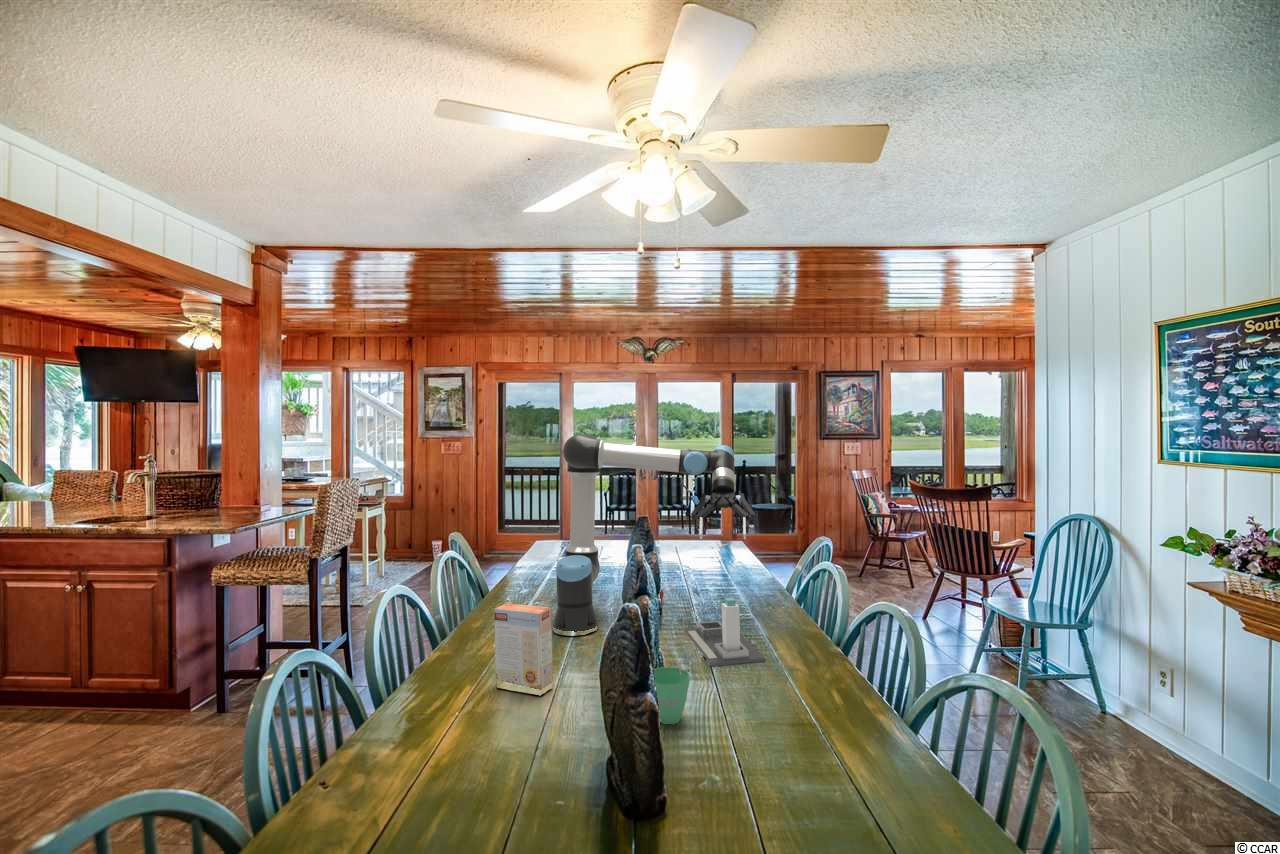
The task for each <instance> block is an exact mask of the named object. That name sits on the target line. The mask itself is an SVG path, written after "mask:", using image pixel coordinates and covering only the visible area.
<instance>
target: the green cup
mask: <svg viewBox="0 0 1280 854" xmlns="http://www.w3.org/2000/svg"><path fill="white" fill-rule="evenodd" d="M653 670H654V677H655V685H656V691H657V698H658V704H659V708H660V719H661V724H662V723H663V725H666V724H672V725H676V724H678V723H679V722H680V720H681V718H682V715H683V712H684V709H685V705H686V701H687V697H688V692H689V687H690V681H691V675H690V672H688V671H687V670H686V669H683V668H682V669H681V672H680V670H679V668H678V667H677V666H676V667H674V666H673V667H672V666H663V667H657V668H654V669H653ZM677 722H678V723H677ZM675 723H676V724H675Z"/></svg>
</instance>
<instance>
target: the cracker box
mask: <svg viewBox="0 0 1280 854" xmlns="http://www.w3.org/2000/svg"><path fill="white" fill-rule="evenodd" d="M493 610H494V611H493V612H494V644H495V645H494V650H495V651H494V653H495V655H494V656H495V662H494V663H495V680H496V679H497V680H500V681H505V682H508V683H513V684H517V685H522V686H526V687H530V688H534V689H539V690H542V689H543V688H545V687H546V686H548V685H549V684H551V683H552V682H553V681H554V678H553V677H554V675H553V674H554V671H553V670H554V669H553V639H552V637H553V636H552V633H553V629H552V608H551V607H547V606H537V605H530V604H529V605H528V604H519V603H512V602H510V603H509V602H507V603H504V604H502V605H499V606H497V607H495V608H494V609H493ZM553 683H554V682H553Z"/></svg>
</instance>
